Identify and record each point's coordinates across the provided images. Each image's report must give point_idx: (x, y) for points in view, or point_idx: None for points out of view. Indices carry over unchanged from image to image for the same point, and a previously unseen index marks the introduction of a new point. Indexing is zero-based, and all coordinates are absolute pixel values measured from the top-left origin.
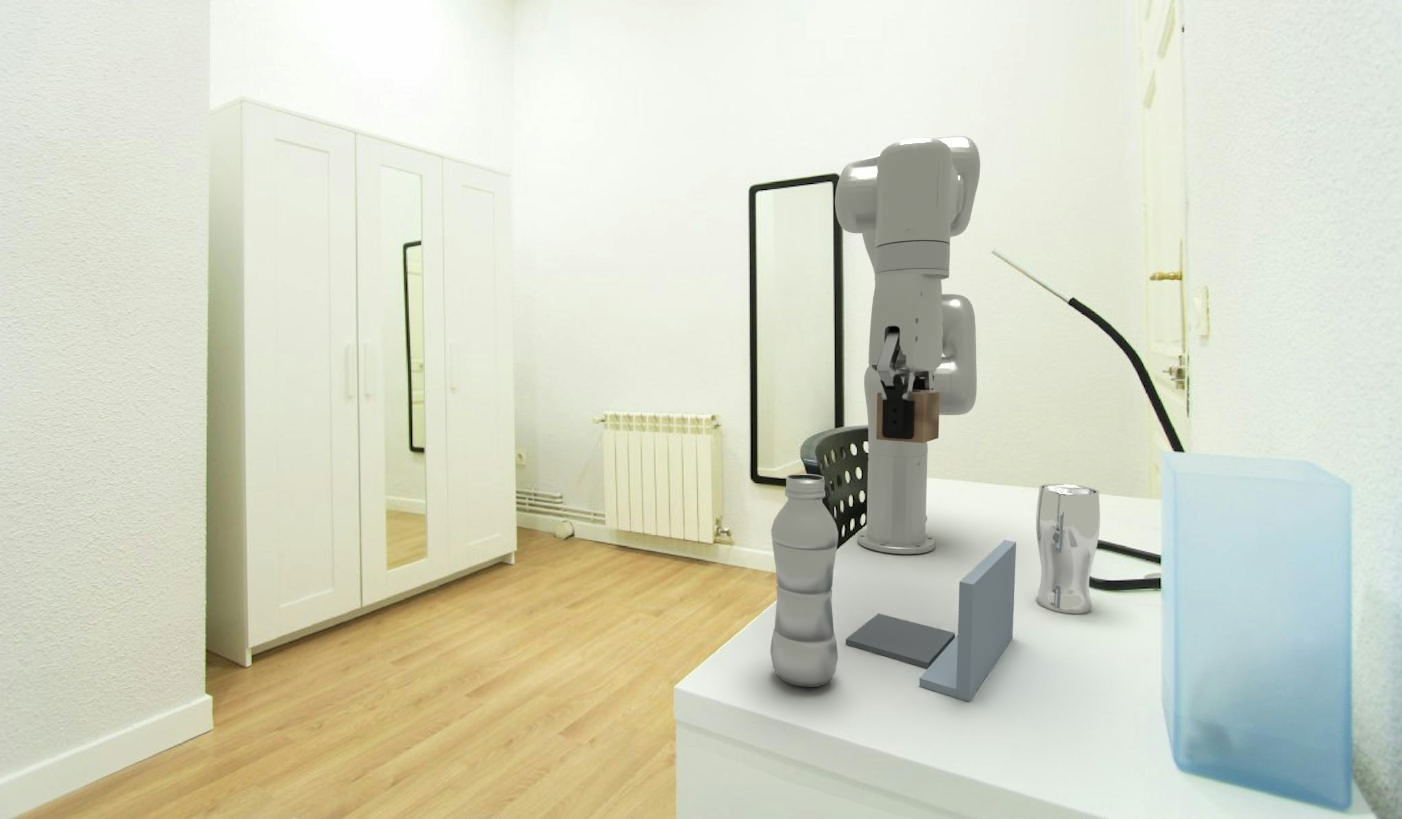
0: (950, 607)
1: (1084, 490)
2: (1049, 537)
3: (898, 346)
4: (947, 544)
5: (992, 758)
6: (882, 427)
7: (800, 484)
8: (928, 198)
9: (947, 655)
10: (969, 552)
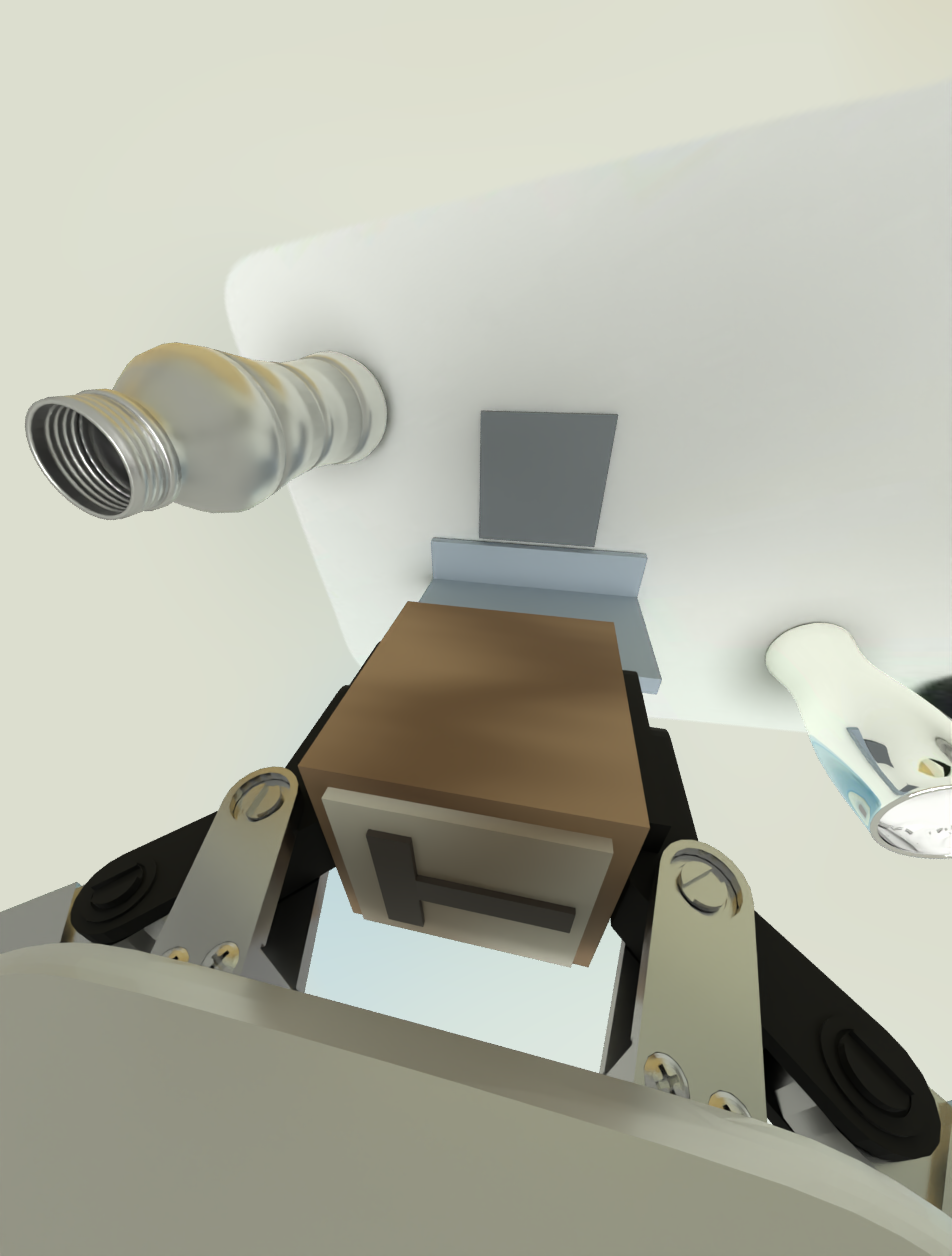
0: (730, 511)
1: None
2: (835, 716)
3: None
4: None
5: (364, 613)
6: (366, 661)
7: (57, 472)
8: None
9: (507, 555)
10: None
